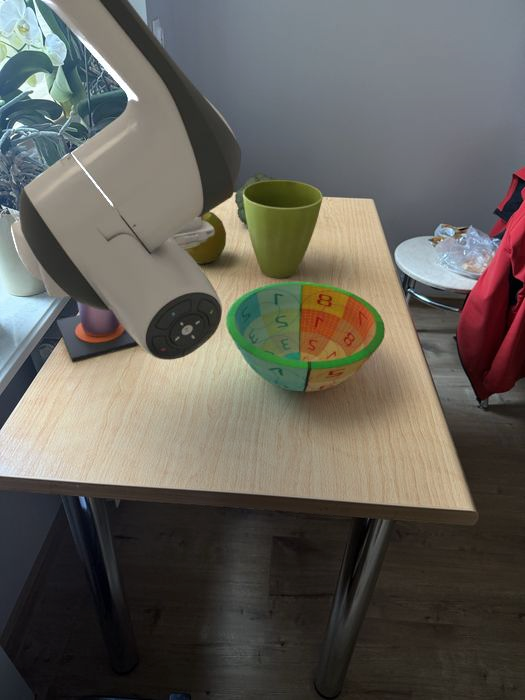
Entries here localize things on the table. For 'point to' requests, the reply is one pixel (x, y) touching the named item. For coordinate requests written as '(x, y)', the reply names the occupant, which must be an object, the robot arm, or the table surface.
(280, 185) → the flower pot
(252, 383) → the table surface
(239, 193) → the vegetable
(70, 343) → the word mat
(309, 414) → the table surface
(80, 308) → the beverage can
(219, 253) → the apple
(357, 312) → the bowl
